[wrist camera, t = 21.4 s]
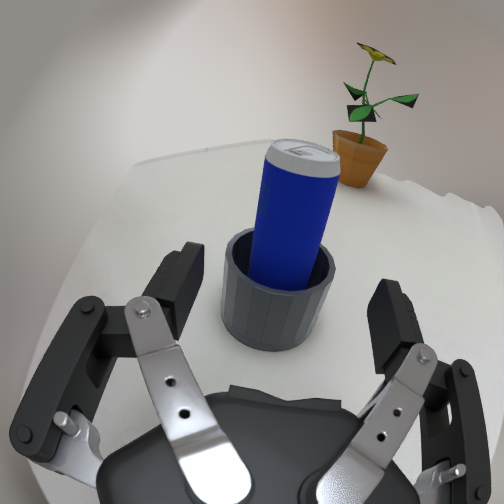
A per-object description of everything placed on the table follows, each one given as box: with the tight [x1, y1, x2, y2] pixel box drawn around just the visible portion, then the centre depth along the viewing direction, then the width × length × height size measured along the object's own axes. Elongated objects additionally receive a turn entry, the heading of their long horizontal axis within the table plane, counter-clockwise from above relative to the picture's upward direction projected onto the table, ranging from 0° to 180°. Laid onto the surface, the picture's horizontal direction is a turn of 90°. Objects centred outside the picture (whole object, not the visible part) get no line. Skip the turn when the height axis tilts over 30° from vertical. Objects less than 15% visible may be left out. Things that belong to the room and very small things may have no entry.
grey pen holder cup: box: [221, 227, 336, 351], centre depth 26 cm, size 9×9×7 cm
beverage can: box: [247, 139, 340, 291], centre depth 23 cm, size 5×5×15 cm
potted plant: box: [333, 43, 419, 188], centre depth 52 cm, size 18×19×30 cm
